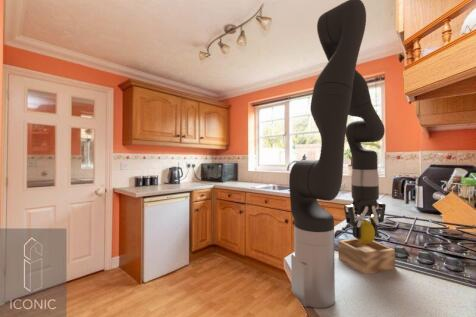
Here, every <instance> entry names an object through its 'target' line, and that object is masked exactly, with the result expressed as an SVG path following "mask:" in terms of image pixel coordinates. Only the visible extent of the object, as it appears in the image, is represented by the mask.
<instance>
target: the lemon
mask: <svg viewBox="0 0 476 317" xmlns="http://www.w3.org/2000/svg"><path fill="white" fill-rule="evenodd" d="M360 227H361V238H360V239H358V240H359V241H360V242H362V243H363V244H364V245H366V244H367V243H370V242H372V241H373V240H374V241H375V238H376V237H375V230H374V227H373V225H372V224H371V223H370V221H368V220H366V219H365V218H364V220H363V221H362V222H361V225H360Z"/></svg>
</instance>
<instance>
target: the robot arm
mask: <svg viewBox="0 0 476 317" xmlns="http://www.w3.org/2000/svg"><path fill="white" fill-rule="evenodd" d="M366 23H367V11H366V6H365V3H364V2H363V1H362V0H346V1H344V2H341V3H339V5H336V6H335V7H333V8H330V9H329V10H327V11H325V12H324V13H322V14H321V15H320V16H319V17H318V19H317V23H316V31H317V32H316V33H317V37H318V40H319V42H320V45H321V48H322V50H323V52H324V54H325V57H326V59H327V61H328V62H327V63H326V65H325V66H324V67H323V69H322V70H321V71H320V73H319V74H318V77H317V78H316V79H315V82H314V85H313V88H312V89H313V90H312V94H311V95H312V96H311V100H310V114H311V116H312V119H313V121H314V123H315V125H316V128H317V130H318V132H319V134H320V141H321V142H320V143H321V147H320V153H319V159H302V160H301V159H300V160H297V161H296V162H294V163H293V165H292V167H291V169H290V173H289V177H288V178H289V180H288V184H289V185H288V186H289V187H288V188H289V203H290V211H291V212H290V213H291V215H292V216H291V217H293V223H294V225H293V228H294V230H293V232H294V234H293V235H294V237H293V238H294V241H293V242H294V245H293V247H294V253H293V254H291V255H290V256H291V257H290V260H291V261H290V263H291V264H290V265H291V266H290V268H291V293H292V294H293V295H294V296H295V297H296V299H297V301H299V302H300V304H301V305H302V306H303V307H311V308H314V309H315V308H317V309H325V308H329V307H331V306H333V305H334V303H335V301H336V300H335V299H336V290H335V289H336V286H335V284H336V281H335V280H336V278H335V274H336V272H335V270H336V268H335V218H334V216H333V214H332V213H330V212H328V210H326V209H325V208H324V207H323V206H321V205H320V203H319V202H318V200H320V201H325V202H326V201H327V202H328V201H332V200H333V201H334V199H336V198H337V197H338V195H339V193H340V190H341V187H342V182H343V173H344V172H343V171H344V157H345V156H344V155H345V142H346V141H347V144H348V146H349V150H350V155H351V176H350V177H351V178H350V180H351V183H350V184H351V190H350V191H351V198H352V204H349V205H346V204H345V205H344V206H343V210H344V216H345V221H346V224H348V225H350V226H352V227H351V228H352V236H353V238H357V239H360V238H361V227H360V225H361V222H362V221H363V220H364V219H365V218H366V217H367V218H368V220H369V221H368V222H370V223H371V224H372V225H373V227H374V230H375V237H374V238H376V237H378V233H379V232H378V231H379V230H378V228H379V224H380V223H384V222H385V214H386V206H387V204H385V203H382V202H378V200H379V198H380V193H379V192H380V182H379V180H380V179H379V178H380V177H379V171H378V170H379V169H378V165H379V164H378V163H379V162H378V160H379V159H378V153H377V151H375V150H371V149H368V148H367V149H366V148H364V147H363V145H362V144H363V143H375V142H376V143H377V142H380V141H381V140H382V139H383V138H384V135H385V132H386V131H385V125H384V122H383V121H382V119H381V117H380V116H379V114H378V113H377V111H376V109H375V108H374V105H373V103H372V99H371V95H370V90H369V86H368V83H367V81H366V79H365V77H364V76H363V75H362V74H361V73H360V72H359V71H358V70H357V69H356V67H357V62H358V57H359V53H360V49H361V45H362V42H363V39H364V35H365V31H366V25H367V24H366ZM349 117H357V118H361V120H353V121H350V122H349V123H348V119H349ZM347 123H348V124H347ZM345 140H346V141H345Z"/></svg>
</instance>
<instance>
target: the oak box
mask: <svg viewBox="0 0 476 317" xmlns="http://www.w3.org/2000/svg"><path fill="white" fill-rule="evenodd" d="M337 242H338V259H340V260H341V261H343V262H345V263H347V264H348V265H350V266H351V267H352V268H355V269H356V270H358V271H359V272H361V273H363V274H364V275H370V274H374V273H380V272H383V271H390V270H394V269H396V250H395V248H393V247H391V246H388V245H385V244H383V243H380V242H378V241H376V240H375V239H374V240H373V241H372V242H370V243H367V244H366V245H364V244H363V243H362V242H360V241H359V240H358V239H357V238H355V237H353V238H349V239H348V238H347V239H343V240H338V241H337Z"/></svg>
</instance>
